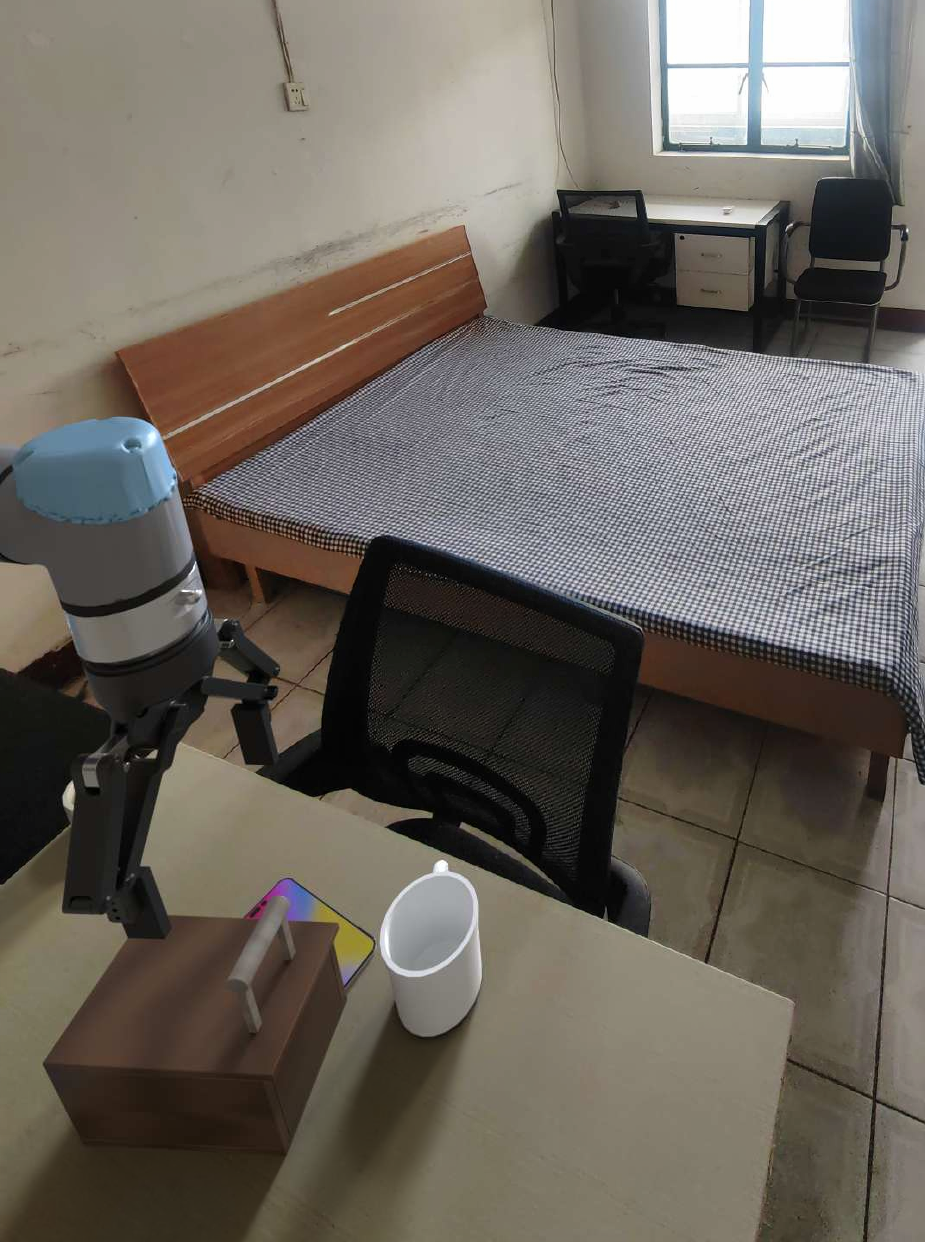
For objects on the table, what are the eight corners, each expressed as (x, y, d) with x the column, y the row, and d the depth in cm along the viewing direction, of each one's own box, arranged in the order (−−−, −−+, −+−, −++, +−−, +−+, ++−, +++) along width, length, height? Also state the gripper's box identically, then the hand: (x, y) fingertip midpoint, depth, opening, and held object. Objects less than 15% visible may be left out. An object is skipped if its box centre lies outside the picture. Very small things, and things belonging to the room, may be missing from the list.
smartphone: (319, 1021, 65) (221, 939, 71) (320, 1025, 65) (222, 943, 71) (380, 941, 71) (286, 872, 77) (381, 946, 71) (287, 877, 78)
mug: (482, 1035, 64) (472, 967, 61) (383, 1055, 63) (368, 985, 60) (491, 909, 75) (484, 843, 71) (407, 923, 73) (395, 857, 70)
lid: (340, 927, 63) (326, 868, 61) (273, 1081, 53) (253, 1018, 51) (146, 918, 64) (124, 859, 61) (44, 1069, 54) (12, 1006, 51)
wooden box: (347, 998, 67) (330, 927, 63) (286, 1155, 57) (262, 1081, 53) (173, 990, 67) (146, 919, 64) (82, 1144, 57) (44, 1070, 54)
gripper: (40, 798, 37) (141, 1035, 44) (295, 527, 60) (333, 710, 67) (-95, 794, 37) (26, 1031, 44) (212, 526, 60) (259, 708, 67)
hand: (212, 837), depth 55 cm, fingers open, 13 cm apart
